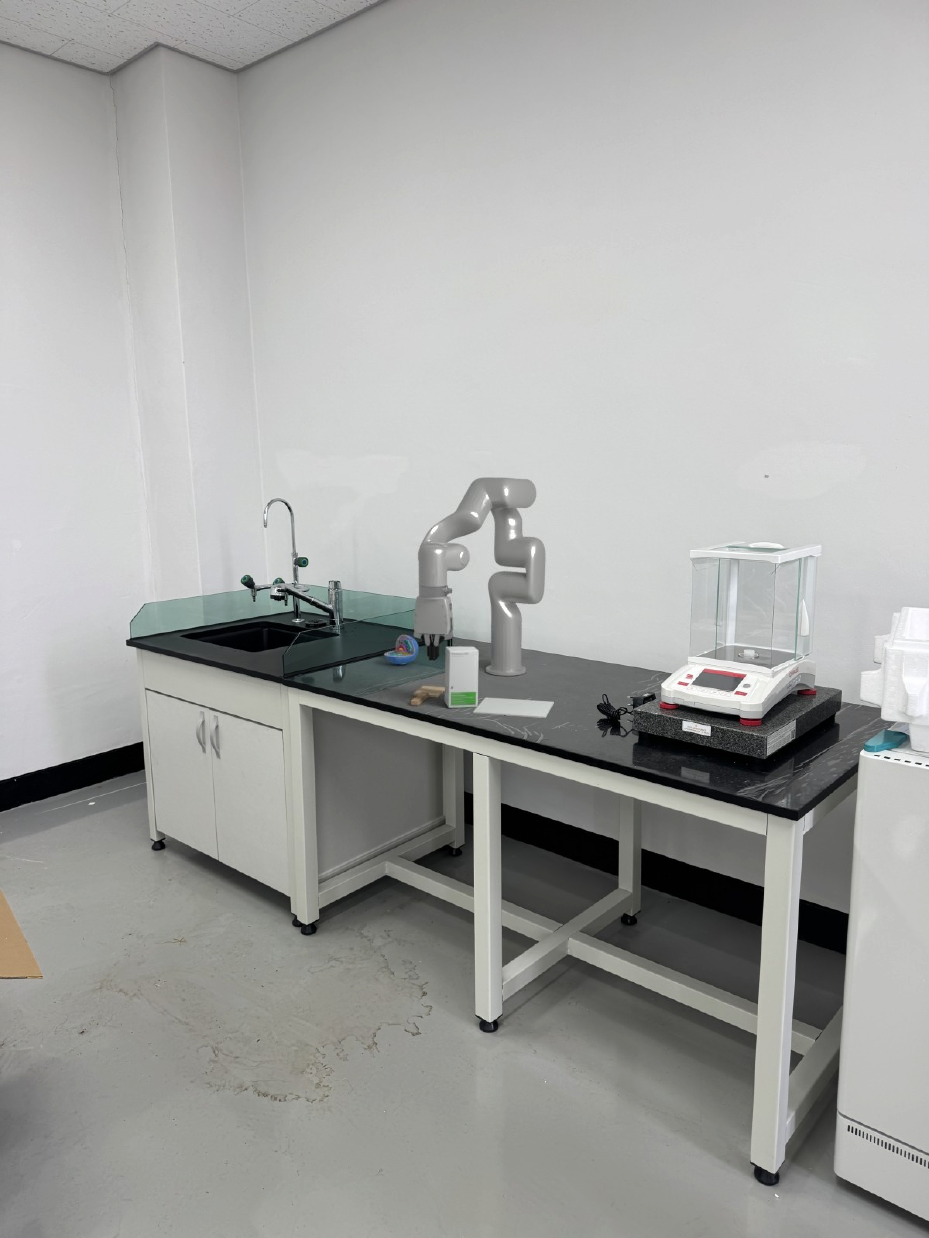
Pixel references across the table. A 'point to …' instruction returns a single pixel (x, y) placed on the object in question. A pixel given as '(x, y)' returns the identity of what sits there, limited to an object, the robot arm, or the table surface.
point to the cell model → (403, 650)
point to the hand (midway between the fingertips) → (433, 659)
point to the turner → (426, 693)
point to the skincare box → (461, 677)
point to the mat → (514, 707)
